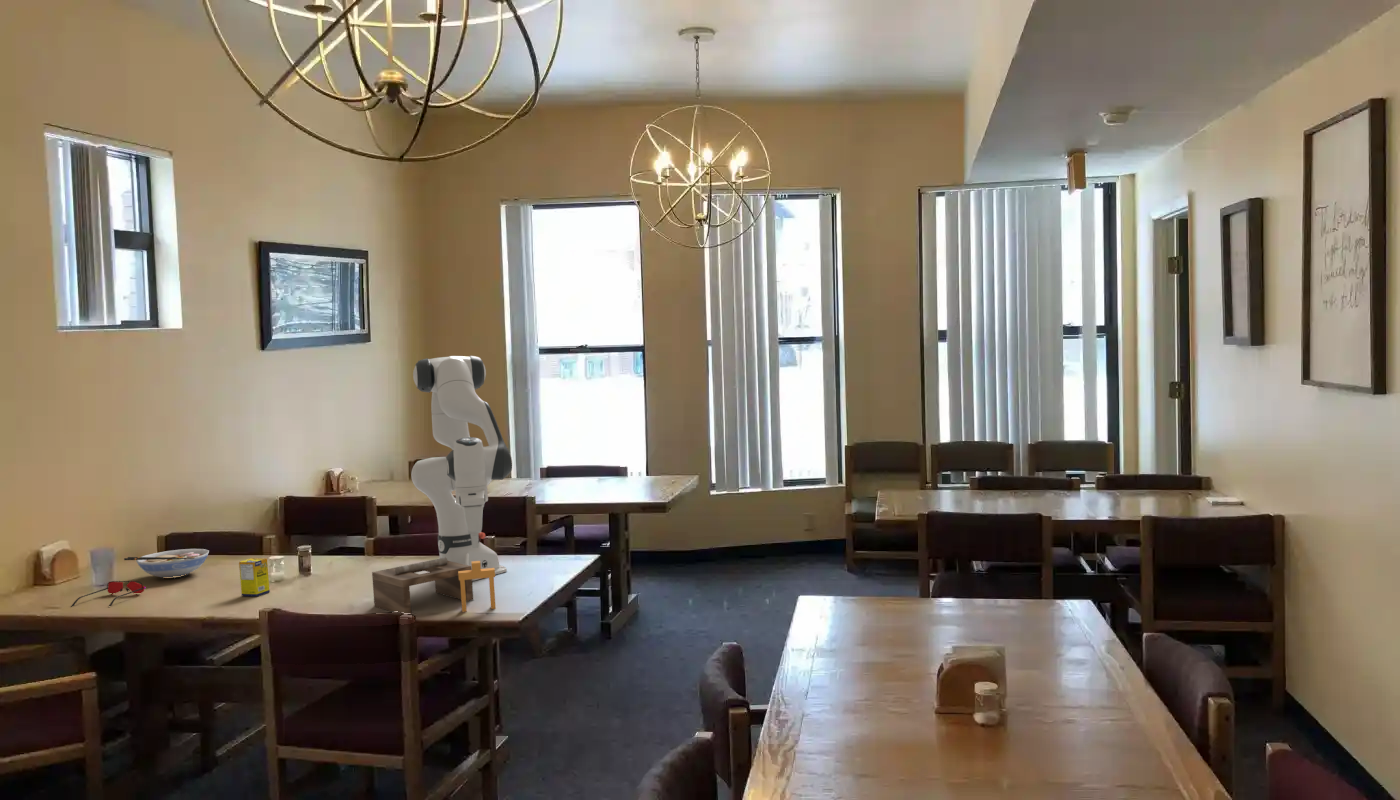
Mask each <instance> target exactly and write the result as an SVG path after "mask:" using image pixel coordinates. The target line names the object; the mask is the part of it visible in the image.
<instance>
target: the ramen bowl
mask: <svg viewBox="0 0 1400 800" xmlns="http://www.w3.org/2000/svg"><path fill="white" fill-rule="evenodd" d="M209 553H210V550H208V549H206V548H205V549H204V548H185V549H183V548H182V549H175V550H174V549H172V550H166V551H160V552H154V553H150V554H146V555H142V556H140V557H139V556H128V557H125V558H123V560H124V561H135V562H136V564H137V565H138V566H139V567H140V569H142V570H143V572H145V573H146V574H148V575H151V576H154V577H159V578H162V577H173V576H181V575H185V574H187V575H189V574H190V573H193V572H194V571H196V570H198V569H199V568H200V567H201V566H202V565H203V564H204V563H205V561H206V559H207V558H208V555H209Z"/></svg>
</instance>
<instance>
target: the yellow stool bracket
mask: <svg viewBox="0 0 1400 800" xmlns="http://www.w3.org/2000/svg"><path fill="white" fill-rule="evenodd" d="M471 563H472V570H466V571H458V577H459V580H460V585H461V599H460V600H461V613H467V610H468V609H467V601H466V594H465V580H469V579H478V580H480V579H479V578H482V579H488V585H489V598H490V599H489V600H490V601H489V602H490V609H491V610H496V609H497V607H496V606H497V605H496V592H495V579H494V578H496V575H495V569H494V568H487V569H481V564H480V561H472V562H471Z"/></svg>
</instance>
